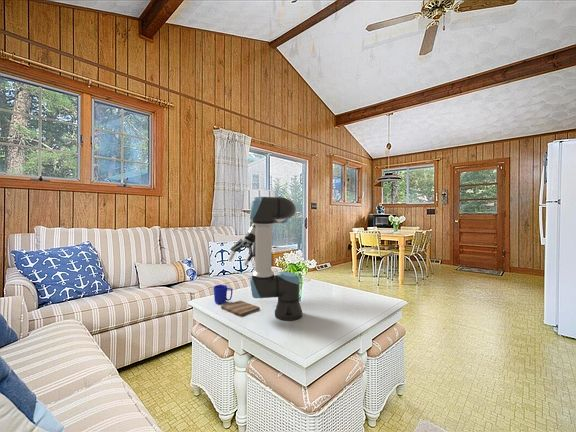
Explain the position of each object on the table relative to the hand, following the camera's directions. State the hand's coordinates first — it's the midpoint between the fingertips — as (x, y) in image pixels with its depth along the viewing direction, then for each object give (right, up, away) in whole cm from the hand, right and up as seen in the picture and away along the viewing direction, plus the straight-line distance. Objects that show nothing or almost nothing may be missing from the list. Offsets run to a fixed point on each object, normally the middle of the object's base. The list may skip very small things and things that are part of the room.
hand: (236, 262), depth 178 cm
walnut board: (+5, -24, -16) cm, 29 cm away
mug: (-8, -24, -4) cm, 26 cm away
